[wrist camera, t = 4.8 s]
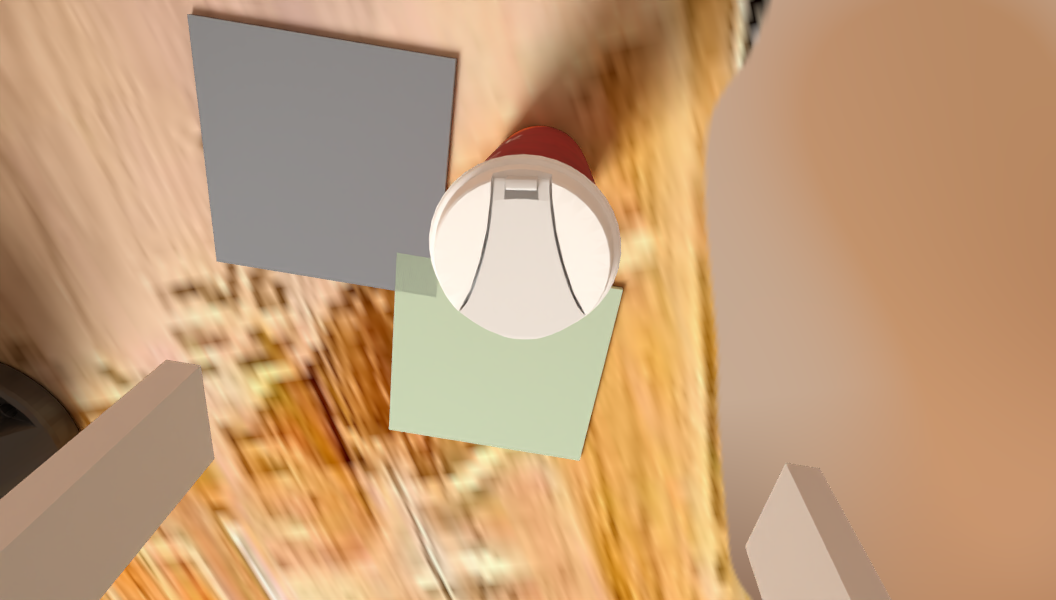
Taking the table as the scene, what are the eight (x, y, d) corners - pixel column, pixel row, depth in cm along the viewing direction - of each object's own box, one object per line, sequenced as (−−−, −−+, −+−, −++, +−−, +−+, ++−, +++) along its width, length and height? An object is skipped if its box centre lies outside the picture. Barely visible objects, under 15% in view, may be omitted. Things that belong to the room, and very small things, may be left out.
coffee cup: (474, 105, 34) (412, 160, 21) (608, 106, 34) (632, 164, 20) (479, 233, 38) (429, 349, 25) (600, 236, 38) (615, 356, 24)
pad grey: (219, 259, 40) (216, 261, 40) (191, 14, 33) (187, 14, 33) (437, 294, 40) (436, 297, 40) (456, 58, 33) (455, 59, 33)
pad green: (390, 426, 46) (389, 429, 46) (398, 250, 39) (396, 252, 39) (579, 457, 47) (579, 460, 46) (622, 287, 39) (623, 290, 39)
